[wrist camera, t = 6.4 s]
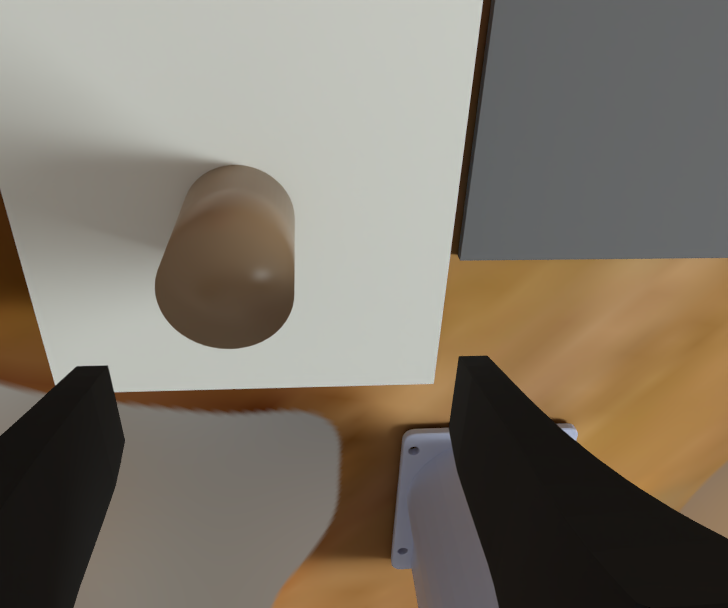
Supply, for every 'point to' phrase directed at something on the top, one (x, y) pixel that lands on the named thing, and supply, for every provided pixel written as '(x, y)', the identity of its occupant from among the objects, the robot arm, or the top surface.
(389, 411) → the top surface
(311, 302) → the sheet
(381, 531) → the top surface
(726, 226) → the mat
